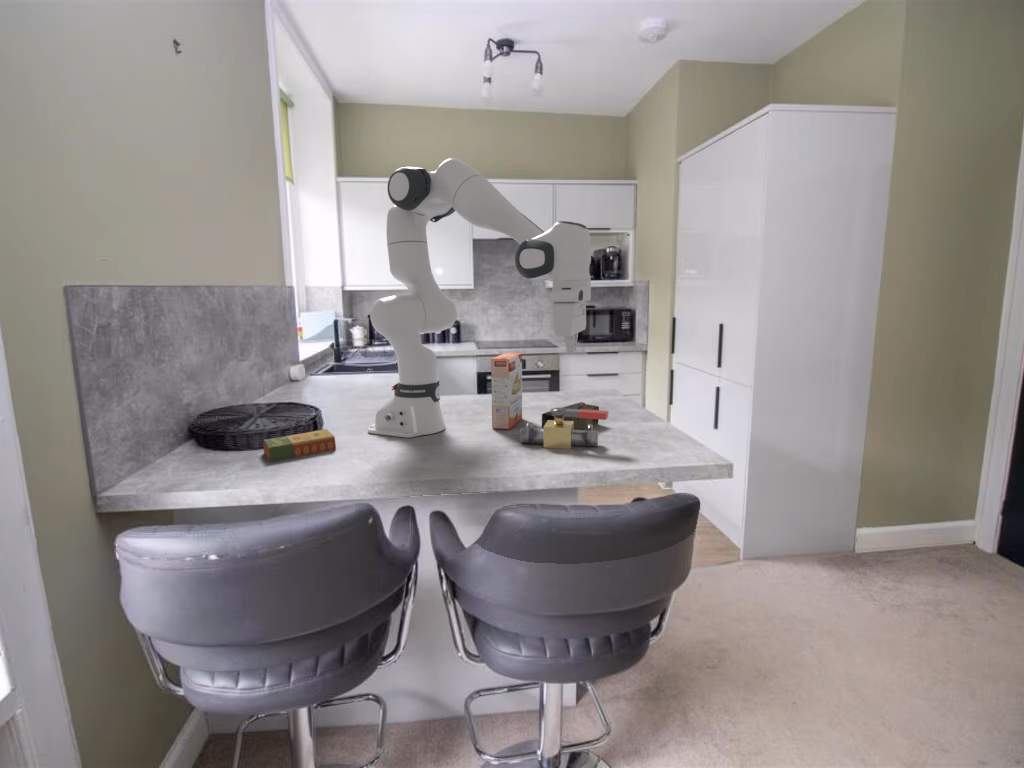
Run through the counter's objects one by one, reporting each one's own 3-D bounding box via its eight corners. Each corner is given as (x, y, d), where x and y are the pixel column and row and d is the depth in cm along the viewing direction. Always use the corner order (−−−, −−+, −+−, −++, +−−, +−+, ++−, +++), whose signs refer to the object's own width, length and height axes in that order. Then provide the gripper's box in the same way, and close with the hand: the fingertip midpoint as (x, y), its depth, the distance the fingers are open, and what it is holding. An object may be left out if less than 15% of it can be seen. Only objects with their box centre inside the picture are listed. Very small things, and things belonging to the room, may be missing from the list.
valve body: (518, 446, 134) (518, 417, 132) (524, 438, 140) (523, 411, 139) (596, 450, 129) (597, 420, 128) (598, 442, 136) (598, 413, 134)
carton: (336, 451, 134) (335, 435, 133) (269, 463, 126) (267, 446, 125) (328, 443, 141) (326, 428, 140) (264, 454, 132) (262, 438, 132)
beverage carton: (600, 425, 153) (600, 403, 152) (563, 440, 139) (563, 416, 138) (577, 421, 158) (577, 400, 157) (539, 435, 144) (539, 412, 143)
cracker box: (511, 430, 149) (509, 358, 145) (491, 429, 150) (489, 358, 146) (523, 418, 162) (522, 352, 158) (505, 417, 163) (504, 352, 160)
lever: (549, 416, 132) (549, 410, 132) (553, 412, 136) (553, 406, 136) (605, 420, 127) (605, 414, 127) (608, 416, 131) (608, 410, 130)
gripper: (567, 292, 131) (567, 347, 133) (547, 294, 111) (548, 357, 114) (592, 292, 129) (591, 347, 131) (576, 294, 110) (576, 358, 112)
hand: (571, 352), depth 122 cm, fingers closed
